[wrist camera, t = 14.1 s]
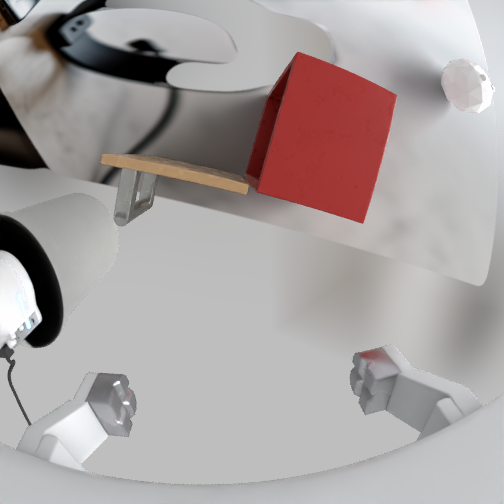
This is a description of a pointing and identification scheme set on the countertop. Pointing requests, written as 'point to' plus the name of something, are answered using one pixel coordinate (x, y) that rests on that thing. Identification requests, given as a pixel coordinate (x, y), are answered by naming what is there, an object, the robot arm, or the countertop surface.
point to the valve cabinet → (321, 138)
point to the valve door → (152, 169)
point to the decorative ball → (466, 86)
